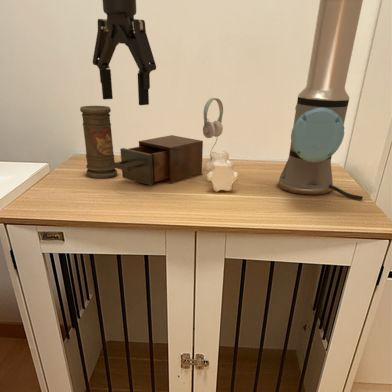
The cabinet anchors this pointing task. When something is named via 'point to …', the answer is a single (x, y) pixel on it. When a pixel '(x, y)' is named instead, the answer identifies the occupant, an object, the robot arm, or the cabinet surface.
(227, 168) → the white rounded figure
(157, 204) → the cabinet surface
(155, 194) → the cabinet surface
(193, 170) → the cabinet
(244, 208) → the cabinet surface
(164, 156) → the drawer
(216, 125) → the headphones
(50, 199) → the cabinet surface
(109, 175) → the container
